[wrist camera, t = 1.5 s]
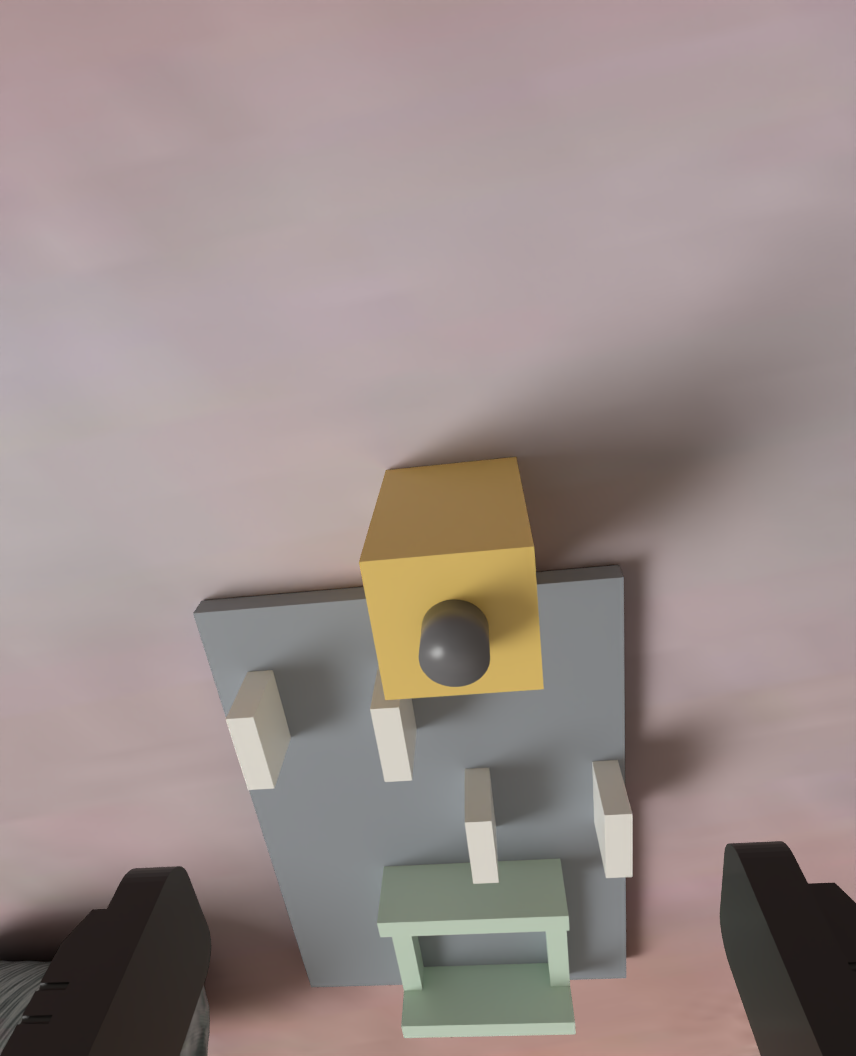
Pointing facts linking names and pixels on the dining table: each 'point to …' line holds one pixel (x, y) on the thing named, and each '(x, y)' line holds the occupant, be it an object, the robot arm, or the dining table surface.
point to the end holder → (465, 908)
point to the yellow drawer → (453, 581)
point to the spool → (12, 985)
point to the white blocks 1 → (267, 736)
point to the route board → (431, 773)
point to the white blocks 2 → (608, 818)
